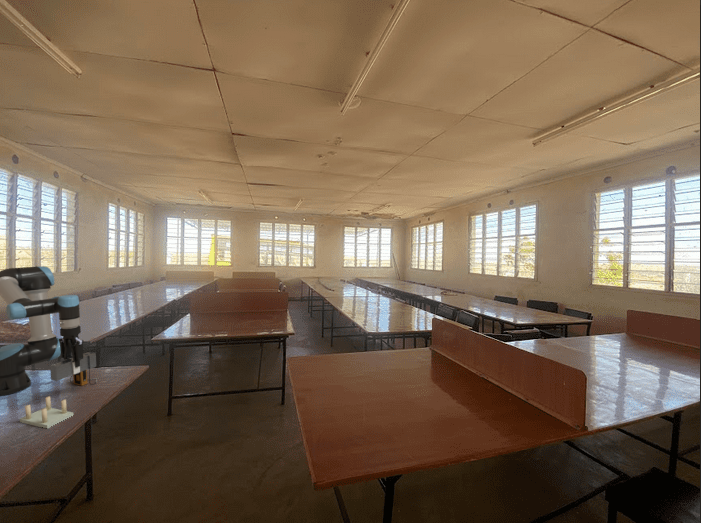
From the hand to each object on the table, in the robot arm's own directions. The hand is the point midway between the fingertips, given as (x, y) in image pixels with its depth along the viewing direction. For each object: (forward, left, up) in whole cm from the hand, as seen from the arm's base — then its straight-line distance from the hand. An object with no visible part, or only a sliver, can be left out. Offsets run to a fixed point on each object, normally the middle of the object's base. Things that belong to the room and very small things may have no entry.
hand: (73, 372), depth 154 cm
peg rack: (+6, -15, -14) cm, 22 cm away
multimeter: (-15, +17, -15) cm, 27 cm away
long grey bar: (0, 0, 0) cm, 1 cm away
